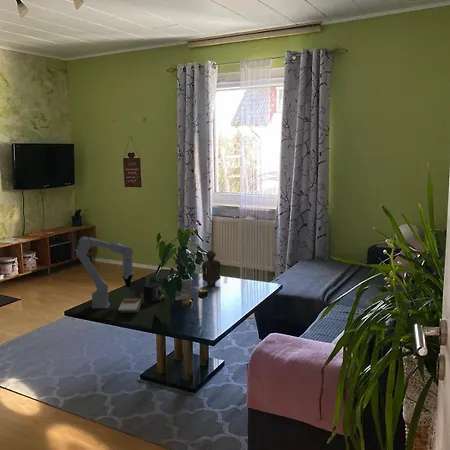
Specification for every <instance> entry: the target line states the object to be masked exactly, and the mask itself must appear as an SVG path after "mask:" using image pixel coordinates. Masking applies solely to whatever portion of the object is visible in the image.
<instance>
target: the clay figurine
mask: <svg viewBox="0 0 450 450" xmlns="http://www.w3.org/2000/svg"><path fill="white" fill-rule="evenodd" d="M216 255H217V254H216V252H215V251H214V250H209V251H206V254H205V256H206V258H207V260H204V261H203V262H202V265H201V271H202V275H201V277H202V280H203V281H205V282H206V285H207V286H208V288H209V287H212V286H213V287H216V284H217V281H219V280H221V275H220V272H221V262H220V261H219V260H218V259H217V260H216V259H215V257H216ZM204 267H206V268H207V274H204V273H205V268H204Z"/></svg>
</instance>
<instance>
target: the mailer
mask: <svg viewBox="0 0 450 450" xmlns="http://www.w3.org/2000/svg"><path fill="white" fill-rule="evenodd" d="M136 299H137V301H139V305H138V307H137V310H132V311H120V313H121V314H124V313H125V314H126V313H129V314H130V313H131V314H133V313H135V314H136V313H137V314H138V313H139V312H140V309H141V307H142V298H136Z"/></svg>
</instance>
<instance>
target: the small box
mask: <svg viewBox="0 0 450 450" xmlns="http://www.w3.org/2000/svg"><path fill="white" fill-rule="evenodd" d="M162 285H163V284H162V283H159V282H156V281H154V282H151V283H149V284H146V285H143V302H144V303H147V304H149V305H150V304H154V303H157V302H159V301H158V299H159V298H160V297H161V296H162V297H163V286H162Z"/></svg>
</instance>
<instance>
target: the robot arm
mask: <svg viewBox="0 0 450 450" xmlns="http://www.w3.org/2000/svg"><path fill="white" fill-rule="evenodd" d="M94 247H100V248H105V249H109V251H110V252H112V253H115V254H119V255H122V279H123V281H124V283H125V287H126V288H130V287H131V285H132V283H131V282H132V278H133V276H134V274H135V272H134V271H133V253H134V251H133V249H132V247H130V245H128V244H125V243H124V244H121V243H118V241H115V242H114V241H113V242H111V243H110V242H107V241H104V240H101V239H97V238H95V237H88V236H81V237H80V238H79V240H78V242H77V251H76V252H77V253H76V255H77V258H78V260H79V261H80V262H81V264H82V265H83V267H84V269H85V270H86V272H87V273H88V275H89V276H90V278H91V280H92V281H93V283H94V284H95V287H96V290H95V291H93V292H92V294H91V309H108V308H109V307H110V305H111V302H109V286H108V284H107V282H106V280H104V279H103V278H102V277H101V275H100V274H99V273H98V271H97V270H96V268H95V267H94V265H93V264H92V261H90V258H89V257H88V256H87V254H88V251H89V250H90V249H91V248H94Z"/></svg>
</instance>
